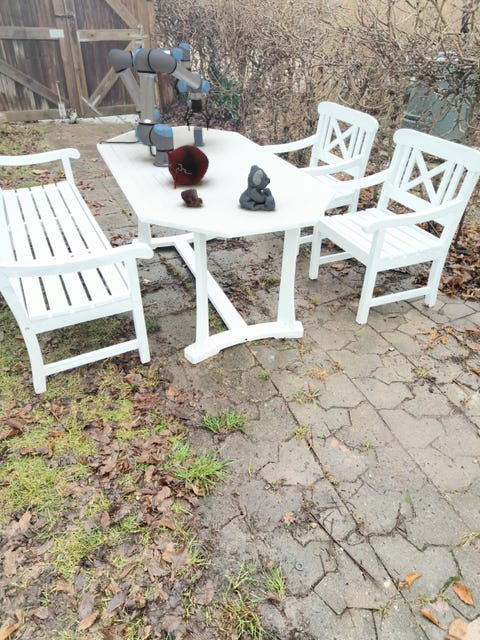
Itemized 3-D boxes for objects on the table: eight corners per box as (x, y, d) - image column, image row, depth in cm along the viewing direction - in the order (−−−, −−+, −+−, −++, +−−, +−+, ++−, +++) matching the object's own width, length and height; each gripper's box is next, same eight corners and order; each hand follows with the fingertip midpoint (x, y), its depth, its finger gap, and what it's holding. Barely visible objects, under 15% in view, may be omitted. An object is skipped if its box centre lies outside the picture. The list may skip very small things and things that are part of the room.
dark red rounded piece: (166, 150, 266) (161, 149, 242) (205, 142, 265) (203, 139, 241) (175, 187, 273) (171, 189, 249) (213, 178, 272) (212, 180, 248)
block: (202, 146, 332) (202, 129, 326) (194, 146, 332) (193, 129, 325) (203, 143, 340) (202, 126, 333) (194, 143, 339) (193, 127, 333)
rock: (196, 202, 238) (178, 205, 233) (194, 185, 234) (176, 188, 230) (205, 205, 228) (187, 208, 224) (203, 188, 224) (185, 191, 220)
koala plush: (276, 211, 223) (277, 171, 212) (240, 212, 222) (240, 172, 211) (271, 199, 237) (272, 161, 226) (237, 200, 236) (237, 162, 225)
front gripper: (213, 97, 321) (215, 128, 334) (179, 98, 321) (181, 129, 333) (213, 99, 315) (215, 131, 328) (178, 100, 315) (181, 132, 327)
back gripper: (202, 67, 338) (204, 98, 350) (169, 67, 337) (172, 98, 349) (202, 68, 332) (203, 99, 344) (168, 68, 331) (171, 100, 343)
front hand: (198, 130), depth 330 cm, fingers open, 13 cm apart
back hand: (187, 99), depth 346 cm, fingers open, 13 cm apart
